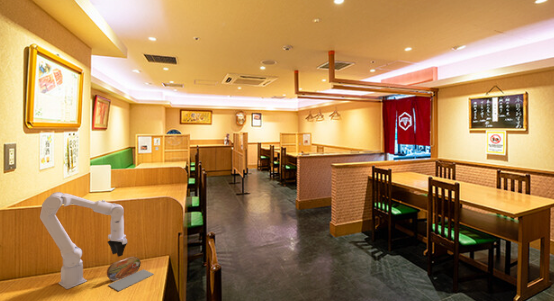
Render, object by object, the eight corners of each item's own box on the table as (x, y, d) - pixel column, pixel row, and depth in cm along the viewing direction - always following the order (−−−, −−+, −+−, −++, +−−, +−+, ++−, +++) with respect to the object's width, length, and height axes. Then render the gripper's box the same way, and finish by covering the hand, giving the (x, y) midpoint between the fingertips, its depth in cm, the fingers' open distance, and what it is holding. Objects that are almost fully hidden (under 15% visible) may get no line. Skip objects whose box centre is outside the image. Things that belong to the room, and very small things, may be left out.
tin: (108, 283, 119) (108, 266, 119) (105, 281, 121) (105, 264, 121) (141, 271, 131) (140, 255, 131) (138, 269, 133) (138, 253, 133)
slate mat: (108, 285, 117) (108, 284, 117) (143, 269, 132) (143, 269, 132) (118, 291, 113) (118, 290, 113) (153, 274, 127) (153, 273, 127)
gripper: (133, 228, 128) (133, 255, 128) (118, 224, 135) (118, 248, 136) (118, 233, 122) (118, 260, 122) (103, 227, 129) (103, 253, 130)
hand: (117, 254), depth 129 cm, fingers open, 4 cm apart
